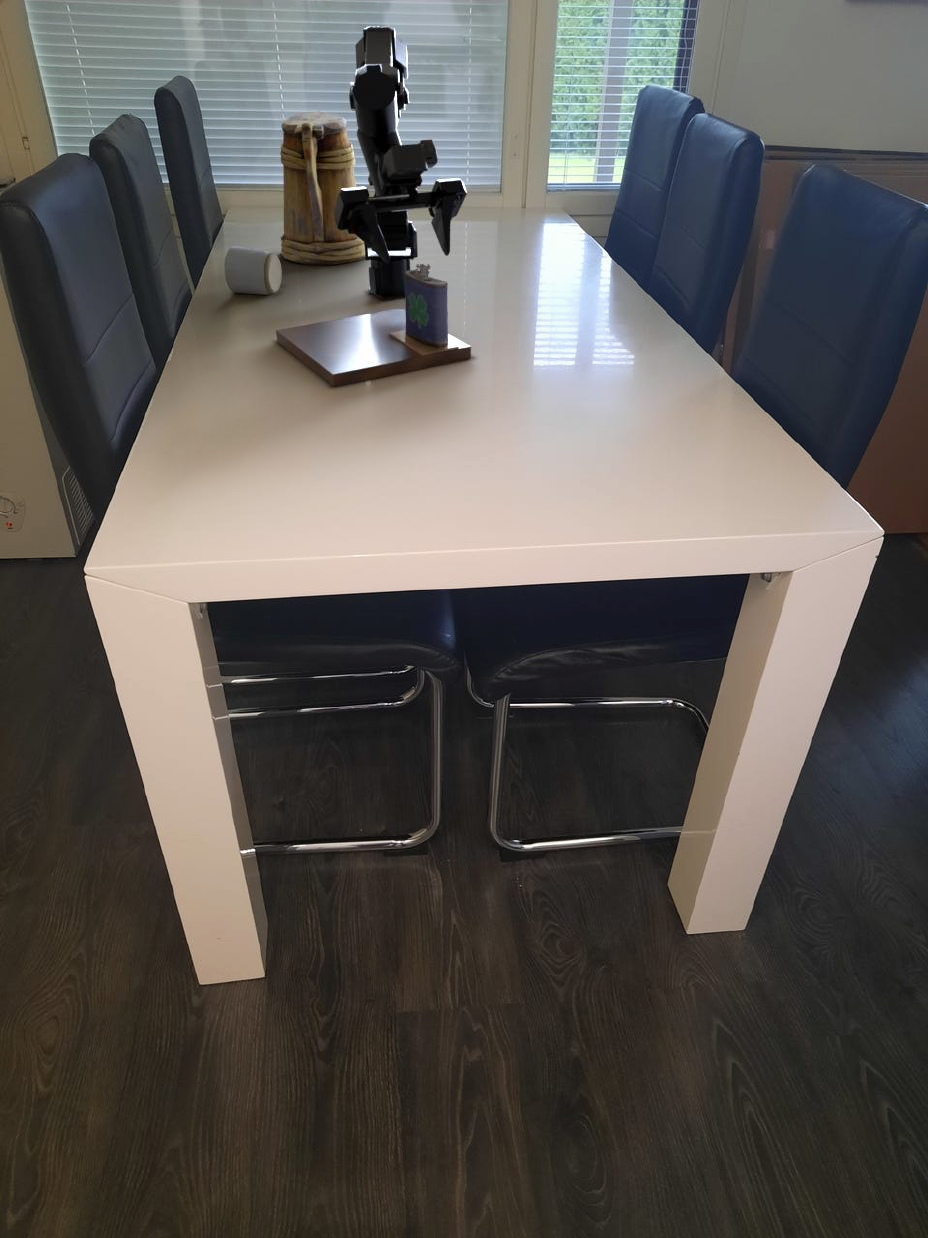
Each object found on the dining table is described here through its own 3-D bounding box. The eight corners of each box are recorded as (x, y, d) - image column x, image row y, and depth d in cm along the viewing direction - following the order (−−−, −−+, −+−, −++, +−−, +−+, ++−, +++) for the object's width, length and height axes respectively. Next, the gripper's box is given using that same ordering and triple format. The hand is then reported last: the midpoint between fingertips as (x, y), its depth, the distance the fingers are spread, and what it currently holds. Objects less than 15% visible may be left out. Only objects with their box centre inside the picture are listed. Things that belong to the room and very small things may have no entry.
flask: (452, 345, 125) (450, 268, 118) (435, 350, 123) (433, 272, 117) (416, 329, 131) (412, 255, 124) (400, 333, 129) (396, 259, 123)
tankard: (369, 242, 184) (361, 108, 170) (370, 271, 166) (361, 123, 151) (285, 244, 183) (268, 109, 168) (276, 274, 164) (257, 124, 149)
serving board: (402, 318, 142) (402, 305, 141) (471, 358, 127) (471, 344, 125) (277, 341, 133) (275, 327, 132) (334, 387, 118) (332, 372, 116)
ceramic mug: (270, 299, 150) (264, 253, 146) (227, 297, 152) (220, 251, 147) (292, 284, 159) (287, 240, 154) (251, 282, 160) (245, 238, 156)
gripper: (332, 121, 112) (367, 229, 110) (461, 113, 118) (496, 215, 117) (319, 178, 122) (352, 277, 121) (438, 167, 129) (470, 262, 127)
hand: (418, 257), depth 121 cm, fingers open, 9 cm apart
